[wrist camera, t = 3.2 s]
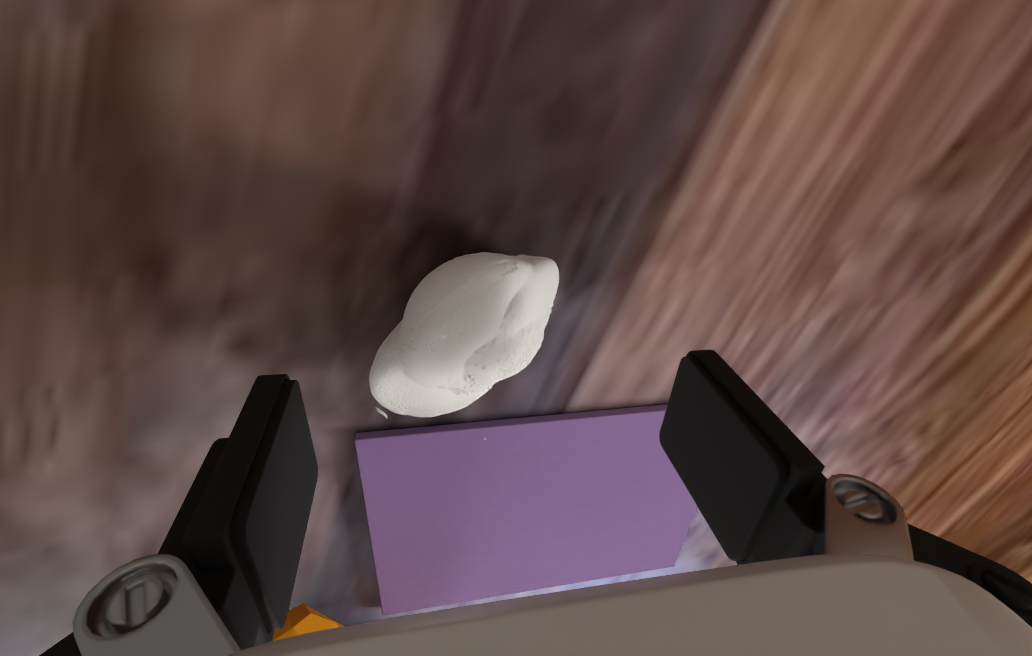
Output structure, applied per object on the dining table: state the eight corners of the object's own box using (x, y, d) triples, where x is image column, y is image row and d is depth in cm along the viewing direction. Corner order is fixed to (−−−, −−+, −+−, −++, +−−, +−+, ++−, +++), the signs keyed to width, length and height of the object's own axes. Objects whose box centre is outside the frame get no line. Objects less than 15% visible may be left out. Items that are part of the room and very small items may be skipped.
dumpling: (457, 177, 14) (518, 218, 11) (555, 270, 17) (623, 321, 14) (311, 355, 14) (331, 440, 11) (434, 411, 18) (474, 488, 15)
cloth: (382, 607, 24) (382, 615, 23) (355, 432, 18) (354, 440, 17) (670, 559, 27) (674, 566, 27) (733, 397, 21) (738, 403, 20)
